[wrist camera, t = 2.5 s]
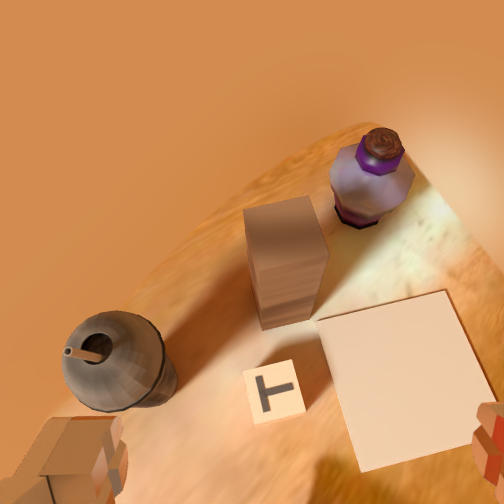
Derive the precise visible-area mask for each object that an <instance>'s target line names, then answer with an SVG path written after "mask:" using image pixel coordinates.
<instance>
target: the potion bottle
mask: <svg viewBox="0 0 504 504" xmlns="http://www.w3.org/2000/svg"><path fill="white" fill-rule="evenodd" d="M404 151H405V149H404V148H403V146H402V143H401V141H400V139H399V137H398V134H397V133H396V132H395V131H393V130H391V129H388V128H376V129H373V130H371V131H370V132H369V133H367V135H364V136H363V137H362V140H361V142H360V143H357V144H354V145H350V146H347V147H344V148H341V149H340V151H339V153H338V155H337V157H336V159H335V161H334V163H333V165H332V167H331V169H330V171H329V174H330V181H331V188H332V190H333V192H334V196H335V204H336V205H335V207H334V208H335V210H336V212H337V214H338V216H339V218H340V220H341V222H342V223H344V224H346V225H349V226H352V227H354V228H357V229H359V230H360V229H363V228H366V227H369V226H373V225H376V224H377V223H378V220H379V219H380V218H381V217H382V216H383V215H384V214H386V213H389V212H392V211H393V210H394V209H395V208H396V207H397V206H399V205H400V204H401V203H402V202H403V201H404V200H405V199H406V196H407V194H408V191H409V189H410V186H411V184H412V181H413V179H414V176H415V174H414V172H413V170H412V169H411V167H410V166H409V164H408V162H407V161H406V159H405V158H404V156H403V153H404Z"/></svg>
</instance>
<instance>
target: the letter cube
mask: <svg viewBox="0 0 504 504" xmlns="http://www.w3.org/2000/svg"><path fill="white" fill-rule="evenodd" d="M243 375H244V380H245V384H246V389H247V393H248V398H249V402H250V407H251V411H252V416H253V420H254V425H255V426H256V427H259V426H263V425H267V424H271V423H275V422H278V421H282V420H286V419H290V418H294V417H298V416H302V415H303V414H304V413H305V412H306V409H305V406H304V402H303V398H302V395H301V391H300V387H299V384H298V380H297V376H296V373H295V369H294V366H293V362H292V359H290V360H286V361H282V362H278V363H274V364H270V365H266V366H262V367H258V368H254V369H250V370H246V371H243Z"/></svg>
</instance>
